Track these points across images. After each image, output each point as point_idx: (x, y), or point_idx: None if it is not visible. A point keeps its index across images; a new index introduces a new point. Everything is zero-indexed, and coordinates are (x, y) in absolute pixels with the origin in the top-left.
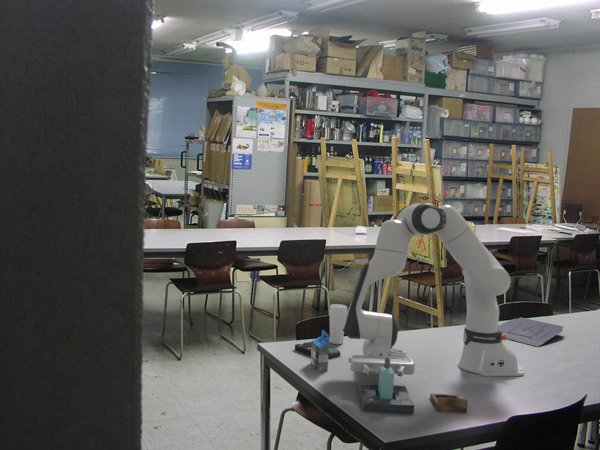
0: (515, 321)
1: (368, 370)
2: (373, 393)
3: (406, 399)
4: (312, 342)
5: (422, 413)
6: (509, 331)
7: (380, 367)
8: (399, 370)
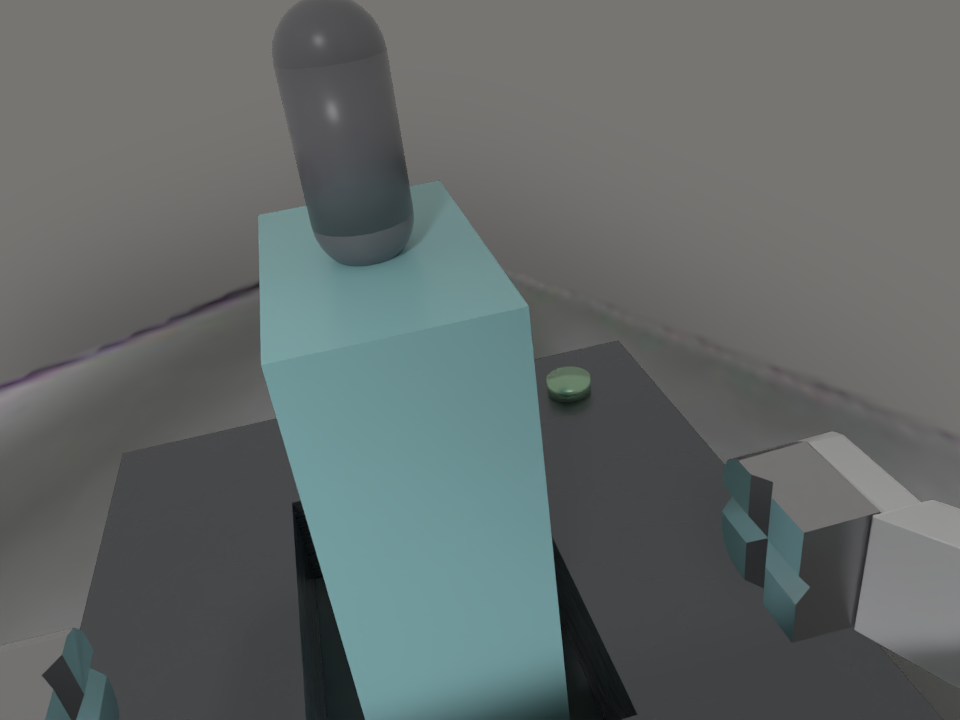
0: None
1: (806, 441)
2: (601, 550)
3: (164, 547)
4: None
5: (51, 565)
6: None
7: (503, 283)
8: (22, 651)
